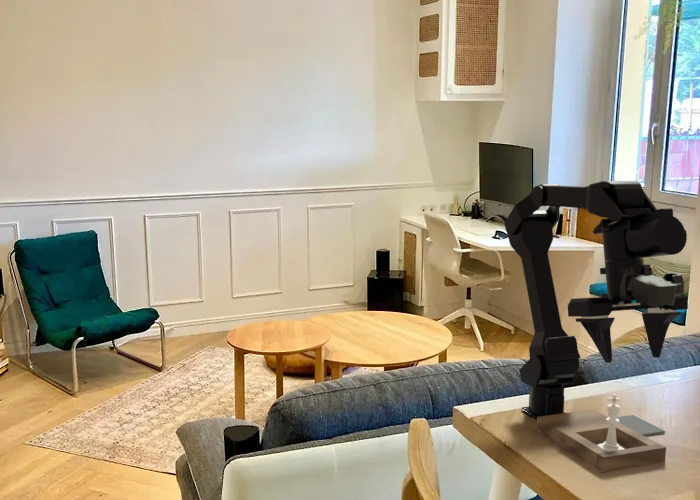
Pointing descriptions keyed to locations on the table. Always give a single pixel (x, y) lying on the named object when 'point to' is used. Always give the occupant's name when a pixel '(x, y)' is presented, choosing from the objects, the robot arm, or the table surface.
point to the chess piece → (612, 426)
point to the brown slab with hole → (600, 440)
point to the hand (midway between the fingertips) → (632, 360)
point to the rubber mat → (639, 425)
